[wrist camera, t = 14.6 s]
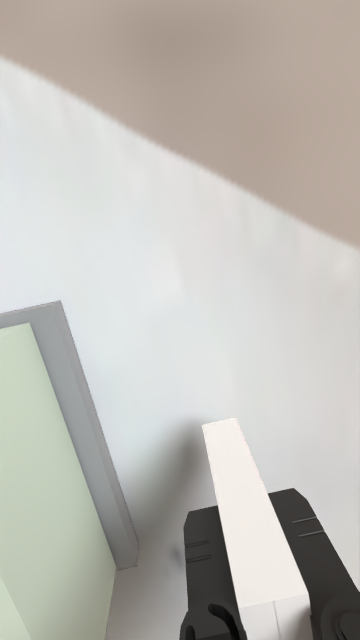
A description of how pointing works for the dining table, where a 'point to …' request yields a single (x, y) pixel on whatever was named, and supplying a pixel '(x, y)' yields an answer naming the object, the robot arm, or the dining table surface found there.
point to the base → (81, 424)
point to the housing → (45, 511)
